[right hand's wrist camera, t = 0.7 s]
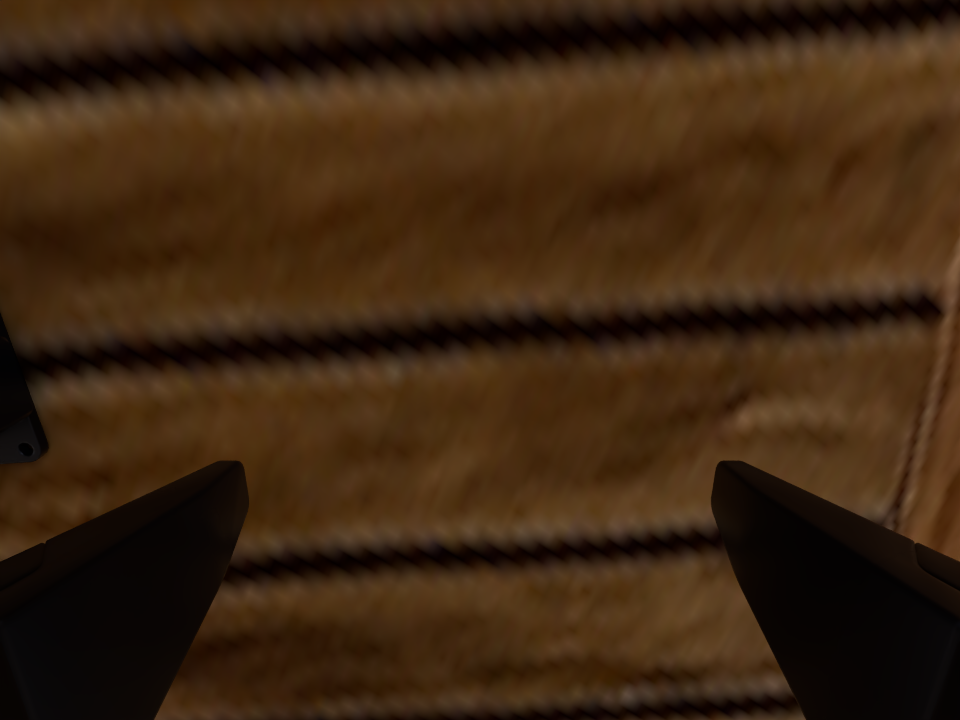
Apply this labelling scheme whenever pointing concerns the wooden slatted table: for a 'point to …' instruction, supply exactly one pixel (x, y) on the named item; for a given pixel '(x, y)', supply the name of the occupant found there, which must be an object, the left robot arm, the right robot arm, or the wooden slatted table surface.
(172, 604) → the right robot arm
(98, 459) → the wooden slatted table surface
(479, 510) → the wooden slatted table surface
